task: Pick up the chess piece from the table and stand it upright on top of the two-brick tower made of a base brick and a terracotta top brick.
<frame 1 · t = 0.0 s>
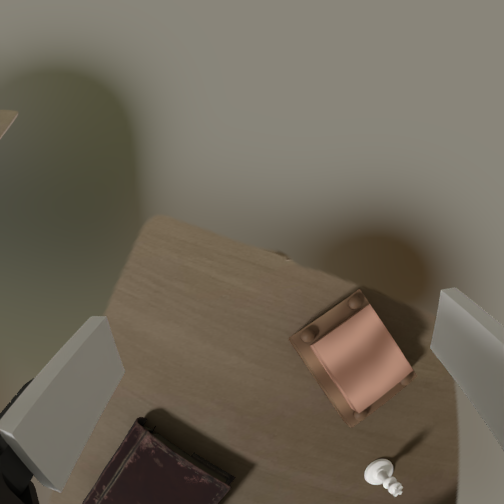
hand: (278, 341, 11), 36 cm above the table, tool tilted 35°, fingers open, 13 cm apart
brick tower: (349, 359, 43), on the table
diary: (156, 494, 38), on the table
chess piece: (378, 471, 37), on the table
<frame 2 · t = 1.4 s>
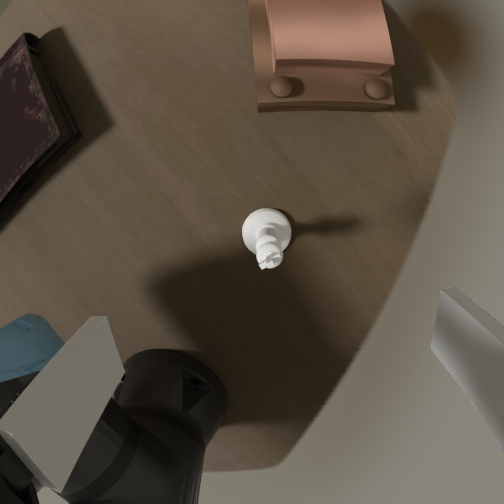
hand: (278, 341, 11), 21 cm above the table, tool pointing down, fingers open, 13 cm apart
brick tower: (310, 39, 25), on the table
diary: (2, 146, 29), on the table
chess piece: (266, 231, 31), on the table
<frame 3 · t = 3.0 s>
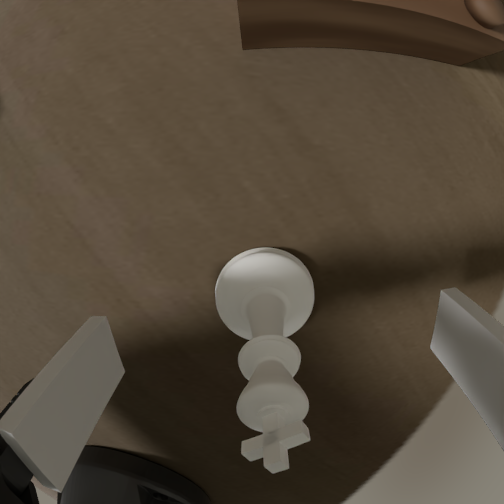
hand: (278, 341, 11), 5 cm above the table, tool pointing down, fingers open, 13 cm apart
chess piece: (264, 293, 16), on the table
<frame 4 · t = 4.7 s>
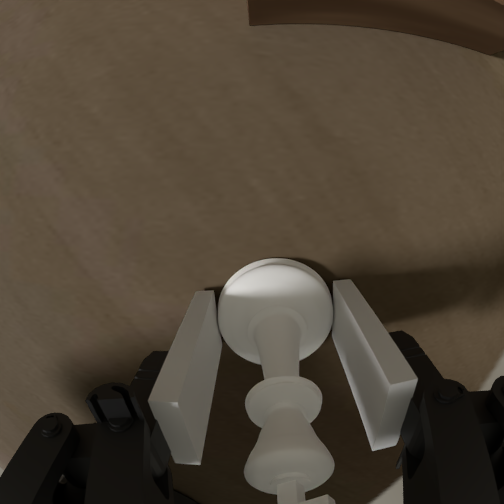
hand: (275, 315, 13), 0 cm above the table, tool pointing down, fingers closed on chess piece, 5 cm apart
chess piece: (275, 310, 13), on the table, touching gripper
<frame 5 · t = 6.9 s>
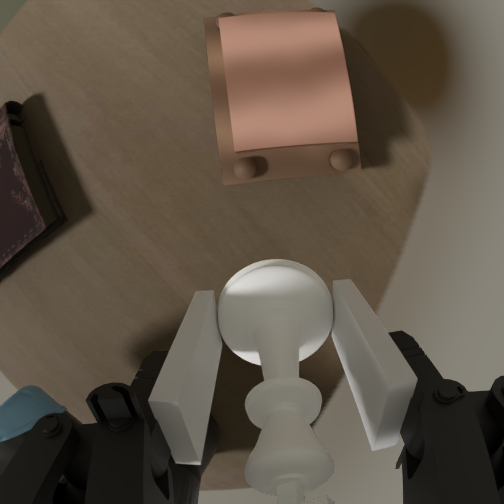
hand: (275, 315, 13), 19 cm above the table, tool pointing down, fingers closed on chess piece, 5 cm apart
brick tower: (278, 98, 28), on the table
chess piece: (275, 311, 13), point 19 cm above the table, touching gripper
when the fingers open (11 cm above the table, at t = 9.6 s): chess piece drops 1 cm, resting on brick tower.
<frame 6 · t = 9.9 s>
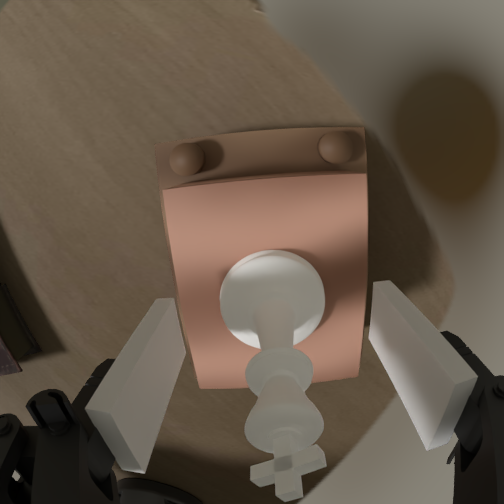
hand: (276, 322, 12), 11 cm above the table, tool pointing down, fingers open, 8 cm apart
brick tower: (268, 246, 23), on the table
chess piece: (272, 298, 15), point 9 cm above the table, touching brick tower
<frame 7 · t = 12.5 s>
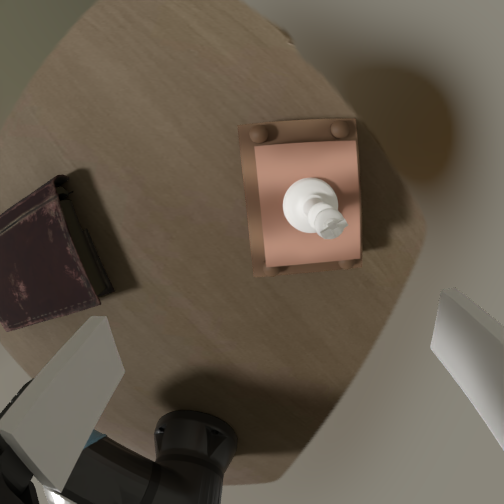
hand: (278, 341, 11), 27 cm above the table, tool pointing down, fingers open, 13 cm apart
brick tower: (299, 192, 35), on the table
diary: (38, 260, 40), on the table
chess piece: (310, 204, 27), point 9 cm above the table, touching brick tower
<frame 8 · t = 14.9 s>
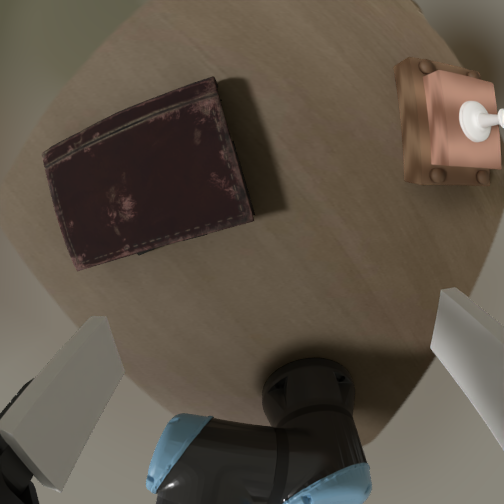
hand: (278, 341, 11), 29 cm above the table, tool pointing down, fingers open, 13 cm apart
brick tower: (436, 125, 34), on the table
diary: (145, 178, 38), on the table
chess piece: (473, 121, 26), point 9 cm above the table, touching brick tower
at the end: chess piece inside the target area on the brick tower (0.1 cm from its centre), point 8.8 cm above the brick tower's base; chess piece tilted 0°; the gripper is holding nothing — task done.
